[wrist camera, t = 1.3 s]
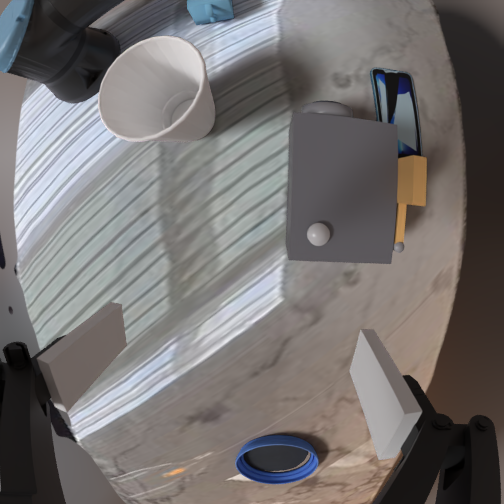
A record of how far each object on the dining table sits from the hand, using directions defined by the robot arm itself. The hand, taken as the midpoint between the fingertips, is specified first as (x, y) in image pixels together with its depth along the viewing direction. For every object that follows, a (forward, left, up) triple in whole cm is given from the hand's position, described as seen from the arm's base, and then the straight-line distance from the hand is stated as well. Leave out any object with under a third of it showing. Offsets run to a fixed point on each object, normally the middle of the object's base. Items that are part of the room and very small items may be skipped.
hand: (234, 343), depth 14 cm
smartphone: (-21, +20, -28) cm, 40 cm away
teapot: (-40, -9, -28) cm, 50 cm away
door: (-7, +16, -27) cm, 32 cm away
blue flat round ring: (+48, +5, -28) cm, 55 cm away
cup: (-18, -11, -27) cm, 35 cm away
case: (-10, +9, -27) cm, 30 cm away
